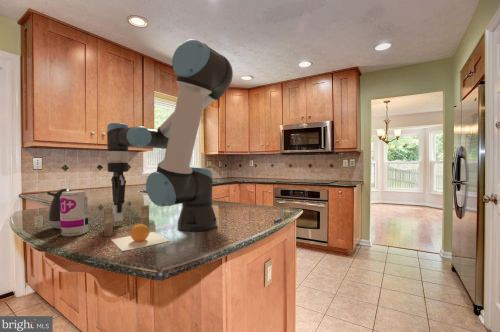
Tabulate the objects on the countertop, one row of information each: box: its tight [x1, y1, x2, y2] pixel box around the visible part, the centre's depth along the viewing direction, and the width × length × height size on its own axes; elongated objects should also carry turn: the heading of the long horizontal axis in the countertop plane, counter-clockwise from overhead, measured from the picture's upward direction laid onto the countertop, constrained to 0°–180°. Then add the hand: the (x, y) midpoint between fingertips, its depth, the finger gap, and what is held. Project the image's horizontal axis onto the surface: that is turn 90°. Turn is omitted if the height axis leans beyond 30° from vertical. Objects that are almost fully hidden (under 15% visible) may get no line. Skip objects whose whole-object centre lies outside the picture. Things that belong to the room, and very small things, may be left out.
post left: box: [103, 208, 114, 237], centre depth 88 cm, size 3×3×9 cm
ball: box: [130, 223, 150, 242], centre depth 81 cm, size 6×6×6 cm
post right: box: [141, 204, 150, 230], centre depth 96 cm, size 3×3×9 cm
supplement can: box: [59, 190, 89, 237], centre depth 90 cm, size 8×8×15 cm
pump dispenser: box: [46, 188, 72, 230], centre depth 98 cm, size 10×10×15 cm
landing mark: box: [110, 231, 170, 252], centre depth 82 cm, size 14×14×1 cm
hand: (118, 220), depth 102 cm, fingers closed
